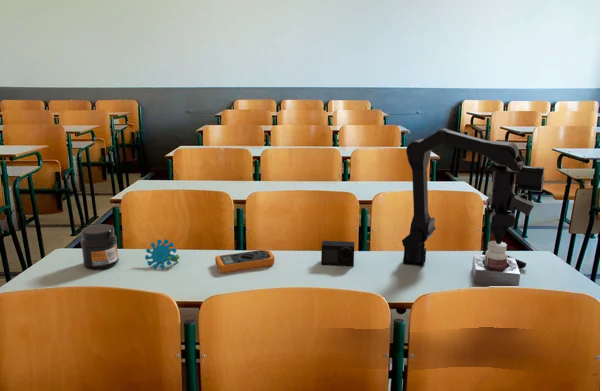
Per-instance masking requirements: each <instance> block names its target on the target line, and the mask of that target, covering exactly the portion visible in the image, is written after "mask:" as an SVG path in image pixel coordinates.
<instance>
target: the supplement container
mask: <svg viewBox="0 0 602 391" xmlns="http://www.w3.org/2000/svg"><path fill="white" fill-rule="evenodd" d="M80 234H81V240H80V245H81V251H82V253H81V254H82V261H83V266H84V268H86V269H88V270H90V271H92V270H93V271H103V270H107V269H111V268H112V267H115V266H116V265H117V264H119V255H118V245H117V244H118V242H117V238H118V237H117V236H116V235H115V227H114V226H113V225H111V224H106V223H105V224H104V223H103V224H93V225H89V226H86V227H84V228H82V230H81V232H80Z"/></svg>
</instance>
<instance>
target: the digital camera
mask: <svg viewBox="0 0 602 391" xmlns="http://www.w3.org/2000/svg"><path fill="white" fill-rule="evenodd" d="M320 256H321V262H320V263H321V266H330V267H331V266H332V267H354V265H355V241H346V240H344V241H342V240H341V241H340V240H339V241H338V240H322V241H321V255H320Z"/></svg>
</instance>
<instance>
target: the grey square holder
mask: <svg viewBox="0 0 602 391" xmlns="http://www.w3.org/2000/svg"><path fill="white" fill-rule="evenodd" d="M472 254H473V255H472V263H471V264H472V266H471V270H472V271H471V272H472V279H473V286H479V287H485V286H519V287H520V280H521V272H520V269H519V268H518V266H517V263H516V260H515V259H516V257H513V258H509V257H507V266H506V268H505V269H495V268H491V267H487V266H486V265H484V263H485V255H482V254H477V253H475V254H474V253H472Z"/></svg>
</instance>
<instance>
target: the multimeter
mask: <svg viewBox="0 0 602 391" xmlns="http://www.w3.org/2000/svg"><path fill="white" fill-rule="evenodd" d="M275 259H276V258H275V255H274V254H273V252H272V251H270V250H269V249H258V250H251V251H244V252H237V253H229V254H222V255H221V254H220V255H216V256H215V257H214V260H215V265H216V267H217V268H218V271H219V272H220V273H221V274H229V273H234V272H240V271H248V270H255V269H261V268H269V267H273V266H274V265H275Z"/></svg>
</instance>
